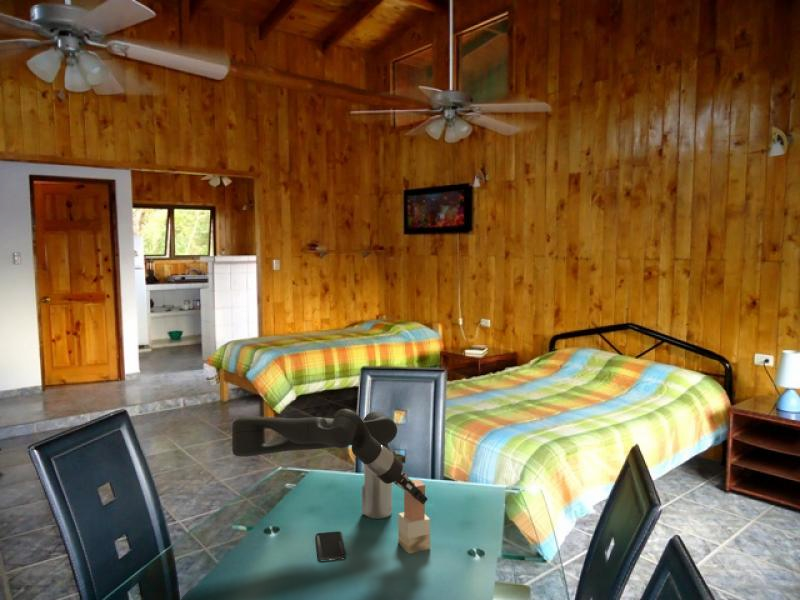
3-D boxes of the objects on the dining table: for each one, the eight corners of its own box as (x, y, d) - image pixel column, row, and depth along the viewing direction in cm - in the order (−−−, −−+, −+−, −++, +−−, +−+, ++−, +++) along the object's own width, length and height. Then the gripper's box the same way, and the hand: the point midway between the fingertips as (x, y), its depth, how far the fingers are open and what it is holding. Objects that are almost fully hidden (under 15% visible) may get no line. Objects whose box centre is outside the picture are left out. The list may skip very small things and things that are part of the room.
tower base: (408, 554, 164) (408, 538, 164) (398, 542, 170) (398, 528, 170) (430, 549, 167) (430, 534, 167) (419, 538, 173) (419, 523, 173)
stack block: (410, 521, 165) (411, 487, 164) (404, 514, 169) (404, 481, 168) (424, 518, 167) (425, 484, 166) (417, 511, 171) (418, 479, 170)
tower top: (407, 538, 164) (408, 523, 164) (398, 527, 170) (398, 513, 170) (429, 534, 167) (430, 519, 166) (419, 523, 173) (419, 509, 173)
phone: (318, 559, 159) (315, 533, 174) (318, 563, 159) (315, 536, 174) (346, 556, 161) (341, 531, 176) (346, 560, 161) (341, 534, 176)
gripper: (364, 465, 168) (400, 497, 174) (384, 483, 155) (422, 517, 161) (381, 445, 170) (416, 477, 175) (402, 461, 157) (439, 495, 163)
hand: (419, 496), depth 168 cm, fingers open, 6 cm apart
